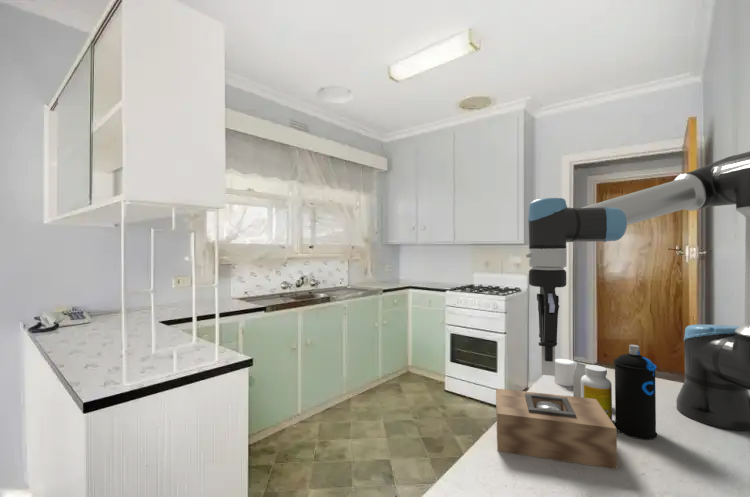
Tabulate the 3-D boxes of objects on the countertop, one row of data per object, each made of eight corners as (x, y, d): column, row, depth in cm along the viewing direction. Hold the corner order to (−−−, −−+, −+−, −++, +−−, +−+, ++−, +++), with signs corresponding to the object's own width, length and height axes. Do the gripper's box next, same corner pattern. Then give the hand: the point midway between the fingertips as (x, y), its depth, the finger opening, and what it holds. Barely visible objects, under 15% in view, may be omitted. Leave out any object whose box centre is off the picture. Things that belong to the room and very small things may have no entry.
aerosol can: (611, 431, 83) (610, 346, 83) (617, 418, 90) (616, 339, 89) (655, 444, 78) (654, 353, 78) (659, 429, 84) (658, 345, 84)
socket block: (596, 433, 83) (595, 396, 83) (616, 469, 69) (616, 425, 69) (496, 420, 89) (496, 386, 89) (497, 450, 76) (497, 410, 76)
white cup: (581, 386, 110) (580, 364, 110) (559, 387, 110) (558, 364, 110) (568, 378, 117) (568, 357, 117) (547, 378, 117) (547, 357, 117)
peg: (559, 437, 81) (559, 402, 81) (563, 449, 76) (563, 412, 76) (535, 434, 82) (535, 399, 82) (538, 445, 78) (537, 409, 78)
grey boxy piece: (598, 407, 96) (597, 370, 96) (573, 398, 102) (573, 363, 102) (605, 404, 98) (605, 367, 98) (580, 395, 104) (580, 361, 104)
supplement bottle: (617, 426, 86) (616, 373, 86) (586, 424, 87) (586, 371, 87) (605, 413, 92) (604, 364, 92) (577, 411, 94) (576, 362, 94)
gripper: (526, 266, 87) (526, 363, 87) (532, 270, 74) (532, 383, 74) (560, 267, 84) (560, 366, 84) (572, 270, 72) (573, 387, 72)
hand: (547, 374), depth 79 cm, fingers closed
